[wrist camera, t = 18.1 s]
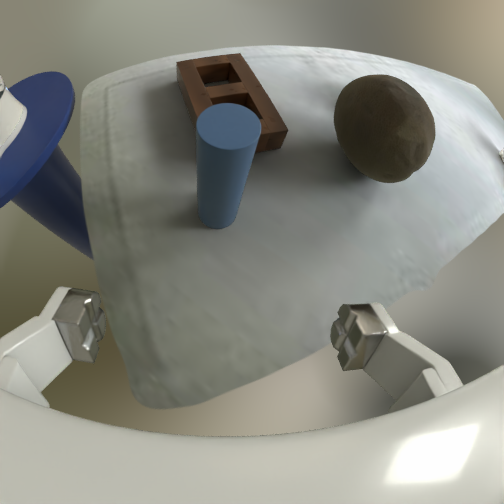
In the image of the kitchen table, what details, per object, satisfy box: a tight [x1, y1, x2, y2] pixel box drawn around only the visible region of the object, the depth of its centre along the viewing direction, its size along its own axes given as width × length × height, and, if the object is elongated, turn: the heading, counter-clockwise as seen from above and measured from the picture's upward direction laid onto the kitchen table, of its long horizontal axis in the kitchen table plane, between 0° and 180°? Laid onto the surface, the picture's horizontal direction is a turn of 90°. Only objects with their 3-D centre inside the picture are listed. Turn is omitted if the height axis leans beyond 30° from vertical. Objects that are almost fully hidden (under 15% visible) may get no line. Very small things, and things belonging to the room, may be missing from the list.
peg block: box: [176, 53, 288, 153], centre depth 34 cm, size 10×18×4 cm, turn 21°
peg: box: [196, 103, 261, 229], centre depth 24 cm, size 4×4×15 cm
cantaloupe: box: [334, 75, 435, 183], centre depth 30 cm, size 14×14×15 cm
